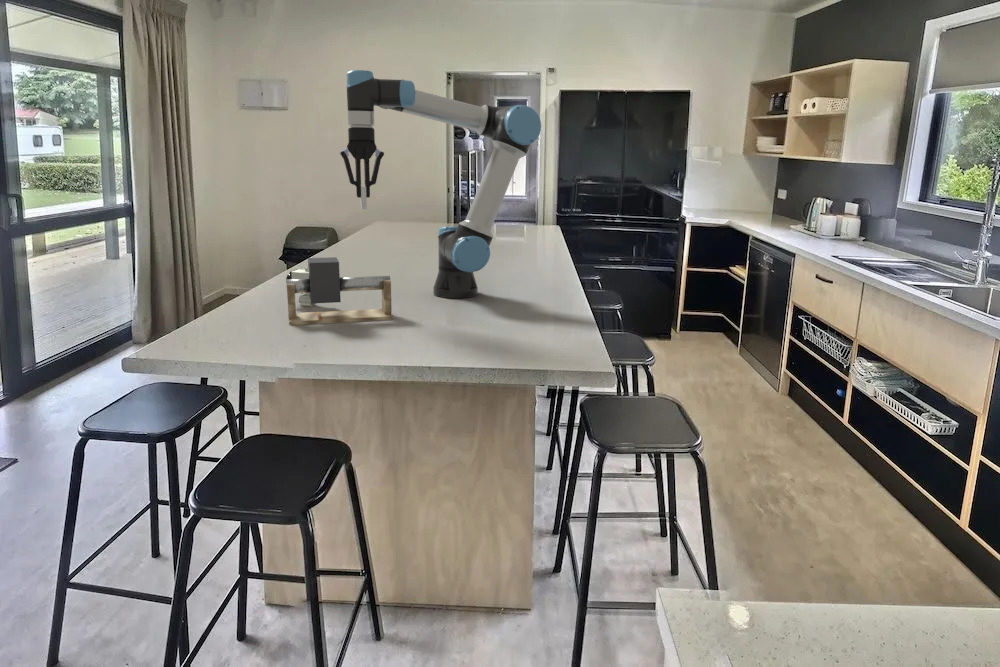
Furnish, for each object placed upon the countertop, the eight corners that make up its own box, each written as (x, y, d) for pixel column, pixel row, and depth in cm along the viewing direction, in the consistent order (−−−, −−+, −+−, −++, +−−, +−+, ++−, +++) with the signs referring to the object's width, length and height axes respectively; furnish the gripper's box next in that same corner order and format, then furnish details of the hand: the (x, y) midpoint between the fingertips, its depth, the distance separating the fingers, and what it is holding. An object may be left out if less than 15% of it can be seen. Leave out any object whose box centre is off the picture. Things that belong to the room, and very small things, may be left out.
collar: (337, 296, 210) (336, 257, 207) (340, 302, 203) (339, 262, 200) (309, 297, 208) (307, 258, 205) (311, 303, 200) (309, 262, 197)
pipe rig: (387, 311, 217) (386, 276, 214) (393, 319, 208) (392, 282, 205) (288, 316, 208) (286, 279, 206) (289, 325, 199) (287, 286, 196)
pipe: (388, 287, 212) (388, 274, 211) (390, 290, 208) (390, 277, 207) (287, 291, 204) (286, 278, 202) (287, 294, 200) (286, 280, 199)
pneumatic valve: (322, 308, 219) (320, 269, 216) (287, 306, 222) (285, 267, 219) (330, 304, 225) (328, 266, 222) (295, 302, 227) (293, 264, 224)
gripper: (381, 127, 213) (383, 207, 219) (337, 126, 209) (340, 207, 215) (385, 127, 206) (387, 209, 212) (339, 126, 202) (342, 210, 208)
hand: (363, 208), depth 214 cm, fingers closed
